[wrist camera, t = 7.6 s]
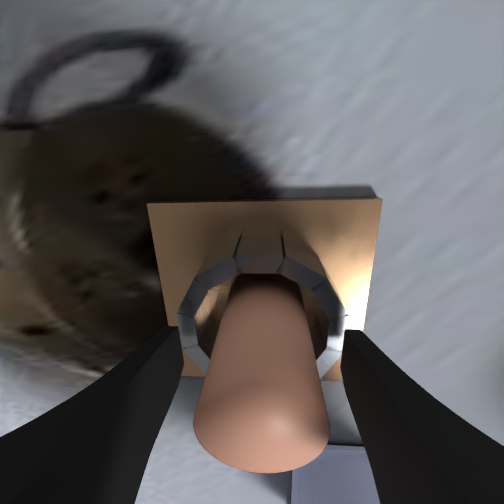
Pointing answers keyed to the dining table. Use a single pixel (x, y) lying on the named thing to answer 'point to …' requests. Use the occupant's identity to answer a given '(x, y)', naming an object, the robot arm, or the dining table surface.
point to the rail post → (263, 381)
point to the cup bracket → (265, 264)
